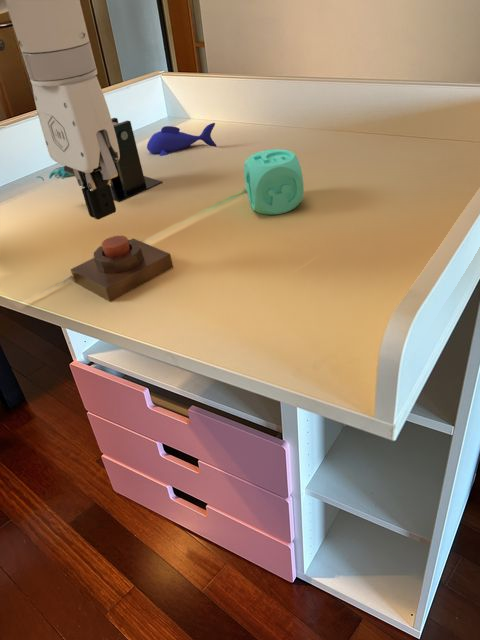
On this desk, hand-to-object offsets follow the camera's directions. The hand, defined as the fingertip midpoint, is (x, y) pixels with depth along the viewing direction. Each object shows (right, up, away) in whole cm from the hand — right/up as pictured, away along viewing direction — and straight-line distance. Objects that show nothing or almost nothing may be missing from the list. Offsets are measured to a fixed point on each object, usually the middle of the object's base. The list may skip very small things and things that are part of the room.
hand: (103, 214), depth 75 cm
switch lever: (-7, +16, +23) cm, 29 cm away
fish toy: (+4, +24, +46) cm, 52 cm away
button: (+1, -5, +3) cm, 6 cm away
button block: (+1, -7, +6) cm, 9 cm away
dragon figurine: (-19, +17, +40) cm, 48 cm away
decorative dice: (+24, +6, +19) cm, 31 cm away
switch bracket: (-4, +11, +30) cm, 33 cm away
